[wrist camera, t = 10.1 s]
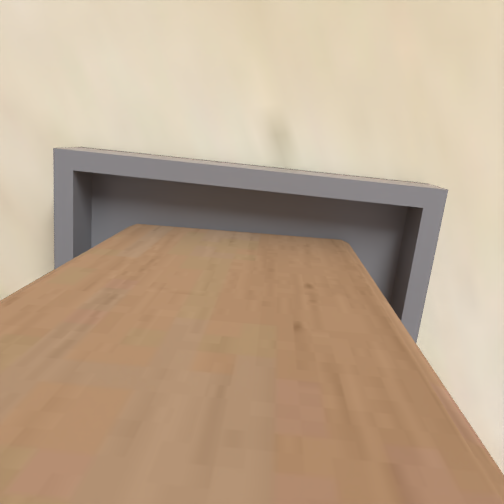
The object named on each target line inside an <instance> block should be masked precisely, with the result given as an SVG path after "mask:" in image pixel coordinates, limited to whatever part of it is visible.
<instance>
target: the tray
mask: <svg viewBox="0 0 504 504" xmlns="http://www.w3.org/2000/svg"><path fill="white" fill-rule="evenodd" d="M53 156H54V259H55V269H56V268H58V267H60V266H61V265H63V264H65V263H67V262H68V261H70V260H72V259H74V258H75V257H77V256H79V255H81V254H82V253H84V252H86V251H87V250H89V249H91V248H93V247H94V246H96V245H98V244H100V243H101V242H103V241H105V240H107V239H108V238H110V237H112V236H113V235H115V234H117V233H119V232H120V231H122V230H124V229H126V228H127V227H129V226H132V225H135V224H147V225H159V226H172V227H185V228H198V229H211V230H224V231H237V232H249V233H262V234H275V235H288V236H301V237H314V238H327V239H339V240H343V241H345V242H347V243H349V244H350V246H351V247H352V249H353V250H354V252H355V253H356V255H357V256H358V258H359V259H360V261H361V262H362V264H363V265H364V267H365V268H366V270H367V271H368V273H369V274H370V276H371V277H372V279H373V280H374V282H375V283H376V285H377V286H378V288H379V289H380V291H381V292H382V294H383V295H384V297H385V298H386V300H387V301H388V303H389V304H390V306H391V307H392V309H393V310H394V312H395V313H396V315H397V316H398V318H399V319H400V321H401V322H402V324H403V325H404V327H405V328H406V330H407V331H408V333H409V334H410V336H411V337H412V339H413V340H414V342H415V343H416V342H417V337H418V332H419V327H420V322H421V318H422V313H423V308H424V303H425V298H426V294H427V289H428V284H429V279H430V274H431V270H432V265H433V260H434V255H435V250H436V246H437V241H438V236H439V231H440V226H441V222H442V217H443V212H444V207H445V202H446V198H447V193H448V190H447V189H444V188H440V187H437V186H434V185H430V184H426V183H417V182H407V181H398V180H388V179H379V178H369V177H360V176H350V175H341V174H331V173H322V172H312V171H303V170H293V169H284V168H275V167H265V166H256V165H246V164H237V163H227V162H218V161H208V160H199V159H189V158H180V157H170V156H161V155H151V154H142V153H132V152H123V151H113V150H104V149H94V148H85V147H68V148H53Z"/></svg>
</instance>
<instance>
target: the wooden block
mask: <svg viewBox="0 0 504 504" xmlns="http://www.w3.org/2000/svg"><path fill="white" fill-rule="evenodd" d="M0 504H504V475H503V473H502V472H501V470H500V469H499V467H498V466H497V464H496V463H495V461H494V460H493V458H492V457H491V455H490V454H489V452H488V451H487V449H486V448H485V446H484V445H483V443H482V442H481V440H480V439H479V437H478V436H477V434H476V433H475V431H474V430H473V428H472V427H471V425H470V424H469V422H468V421H467V419H466V418H465V416H464V415H463V413H462V412H461V410H460V409H459V407H458V406H457V404H456V403H455V401H454V400H453V398H452V397H451V395H450V394H449V392H448V391H447V389H446V388H445V386H444V385H443V383H442V382H441V380H440V379H439V377H438V376H437V374H436V373H435V372H434V370H433V369H432V367H431V366H430V364H429V363H428V361H427V360H426V358H425V357H424V355H423V354H422V352H421V351H420V349H419V348H418V346H417V345H416V343H415V342H414V340H413V339H412V337H411V336H410V334H409V333H408V331H407V330H406V328H405V327H404V325H403V324H402V322H401V321H400V319H399V318H398V316H397V315H396V313H395V312H394V310H393V309H392V307H391V306H390V304H389V303H388V301H387V300H386V298H385V297H384V295H383V294H382V292H381V291H380V289H379V288H378V286H377V285H376V283H375V282H374V280H373V279H372V277H371V276H370V274H369V273H368V271H367V270H366V268H365V267H364V265H363V264H362V262H361V261H360V259H359V258H358V256H357V255H356V253H355V252H354V250H353V249H352V247H351V246H350V244H349V243H347V242H345V241H343V240H339V239H327V238H314V237H301V236H288V235H275V234H262V233H249V232H237V231H224V230H211V229H198V228H185V227H172V226H159V225H147V224H135V225H132V226H129V227H127V228H126V229H124V230H122V231H120V232H119V233H117V234H115V235H113V236H112V237H110V238H108V239H107V240H105V241H103V242H101V243H100V244H98V245H96V246H94V247H93V248H91V249H89V250H87V251H86V252H84V253H82V254H81V255H79V256H77V257H75V258H74V259H72V260H70V261H68V262H67V263H65V264H63V265H61V266H60V267H58V268H56V269H55V270H53V271H51V272H49V273H48V274H46V275H44V276H42V277H41V278H39V279H37V280H35V281H34V282H32V283H30V284H29V285H27V286H25V287H23V288H22V289H20V290H18V291H16V292H15V293H13V294H11V295H9V296H8V297H6V298H4V299H3V300H1V301H0Z"/></svg>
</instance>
